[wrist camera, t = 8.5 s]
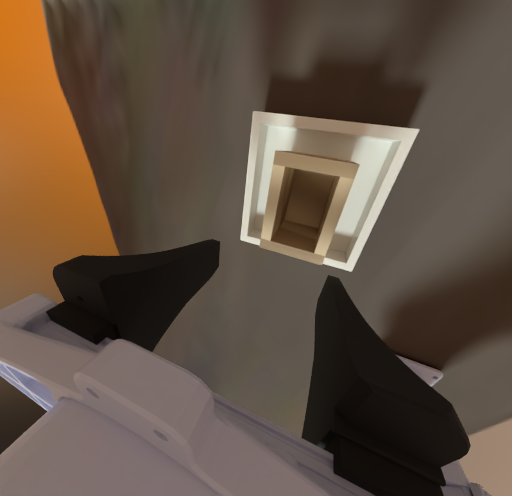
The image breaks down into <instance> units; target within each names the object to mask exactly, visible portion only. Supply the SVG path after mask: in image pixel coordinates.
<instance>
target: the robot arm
mask: <svg viewBox="0 0 512 496" xmlns="http://www.w3.org/2000/svg"><path fill="white" fill-rule="evenodd" d="M219 252H220V242H219V241H216V240H213V239H211V240H206V241H202V242H199V243H195V244H191V245H188V246H184V247H180V248H176V249H172V250H167V251H162V252H156V253H149V254H139V255H127V256H85V255H82V256H78V257H76V258H73V259H71V260H69V261H66V262H64V263H61V264H59V265H57V266H55V267H54V270H53V277H54V280H55V282H56V284H57V286H58V288H59V290H60V292H61V294H62V296H63V298H64V300H65V301H64V302H62V303H60V304H58V305H57V303H55V301H53V300H52V299H50V298H48V297H46V296H43V295H42V294H39V293H35V294H33V295H31V296H29V297H27V298H25V299H22V300H21V301H18V302H16V303H14V304H12V305H10V306H8V307H6V308H4V309H2V310H0V376H1V377H3V378H4V379H6V380H7V381H8V382H10V383H11V384H12V385H14V386H15V387H16V388H18V389H19V390H20V391H22V392H23V393H24V394H26V395H27V396H28V397H30V398H31V399H32V400H33V401H35V402H36V403H37V404H39V405H40V406H41V407H43V408H44V409H45V410H47V411H48V412H47V413H46V414H45V415H43V417H41V418H40V419H39V420H38V421H37V422H36V423H35V424H34V425H33V426H31V427H30V428H29V429H28V430H27V431H26V432H25V433H24V434H23V435H22V436H21V437H19V438H18V439H17V440H16V441H15V442H14V443H13V444H12V445H11V446H10V447H8V448H7V449H6V450H5V451H4V452H3V453H2V454H1V455H0V496H491V495H490V494H489V493H488V492H486V491H485V490H484V489H483V487H482V486H480V485H479V484H477V483H470V482H469V480H468V479H467V477H466V476H465V474H464V471H463V469H462V467H461V464H460V462H459V459H461V458H462V457H463V456H465V455H466V454H467V453H468V451H469V448H470V442H469V438H468V436H467V434H466V432H465V430H464V428H463V426H462V424H461V422H460V420H459V418H458V416H457V414H456V412H455V409H454V408H453V406H452V404H451V403H450V402H449V401H448V400H446V399H445V398H444V397H443V396H442V395H440V394H439V393H438V392H437V391H436V390H434V389H433V388H432V387H431V386H433V385H434V384H435V383H436V382H437V381H439V380H440V379H441V378H442V377H443V374H442V372H441V371H439V370H437V369H434V368H431V367H429V366H426V365H423V364H420V363H418V362H415V361H412V360H409V359H407V358H404V357H401V356H398V355H396V354H394V353H393V351H392V350H391V349H390V348H389V347H388V346H387V345H386V344H385V343H384V342H383V341H382V340H381V339H380V338H379V337H378V335H377V334H376V333H375V332H374V331H373V329H372V328H371V327H370V326H369V325H368V323H367V322H366V321H365V319H364V318H363V317H362V315H361V314H360V312H359V311H358V309H357V308H356V306H355V305H354V303H353V302H352V300H351V299H350V297H349V295H348V294H347V292H346V290H345V288H344V286H343V285H342V283H341V281H340V279H339V278H336V277H333V276H329V275H328V277H327V279H326V282H325V284H324V287H323V289H322V291H321V294H320V296H319V298H318V302H317V308H316V314H315V347H314V361H313V368H312V376H311V383H310V390H309V396H308V403H307V409H306V415H305V421H304V427H303V433H302V438H300V437H299V436H297V435H295V434H293V433H291V432H289V431H287V430H285V429H283V428H281V427H279V426H277V425H275V424H273V423H272V422H270V421H268V420H266V419H264V418H262V417H260V416H258V415H256V414H254V413H252V412H250V411H248V410H246V409H244V408H243V407H241V406H239V405H237V404H235V403H233V402H231V401H229V400H227V399H225V398H223V397H221V396H219V395H217V394H216V393H214V392H212V391H211V390H210V389H209V388H208V387H207V386H206V384H205V383H204V382H203V381H202V380H201V379H200V378H198V377H197V376H195V375H194V374H192V373H191V372H189V371H187V370H186V369H184V368H182V367H180V366H178V365H176V364H174V363H172V362H170V361H168V360H166V359H164V358H162V357H160V356H158V355H156V354H154V353H152V351H153V350H154V348H155V347H156V345H157V343H158V342H159V341H160V339H161V338H162V336H163V335H164V333H165V332H166V330H167V329H168V327H169V326H170V325H171V323H172V322H173V320H174V319H175V318H176V316H177V315H178V314H179V312H180V311H181V310H182V308H183V307H184V306H185V305H186V303H187V302H188V301H189V300H190V299H191V298H192V297H193V296H194V295H195V294H196V293H197V292H198V291H199V290H200V288H201V287H202V286H203V285H204V284H205V283H206V282H207V281H208V280H209V279H210V278H211V277H212V275H213V274H214V273H215V271H216V270H217V268H218V267H219Z"/></svg>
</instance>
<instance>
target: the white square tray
mask: <svg viewBox="0 0 512 496" xmlns="http://www.w3.org/2000/svg"><path fill="white" fill-rule="evenodd" d="M418 132H419V129H411V128H402V127H393V126H384V125H375V124H366V123H357V122H348V121H339V120H330V119H322V118H313V117H304V116H295V115H286V114H277V113H268V112H259V111H253V118H252V128H251V138H250V148H249V158H248V168H247V178H246V188H245V199H244V209H243V219H242V229H241V239H240V240H242V241H246V242H249V243H253V244H256V245H260V239H261V233H262V227H263V221H264V215H265V209H266V203H267V197H268V191H269V185H270V179H271V173H272V167H273V161H274V155H275V151H296V152H302V153H308V154H314V155H320V156H327V157H333V158H339V159H345V160H351V161H353V162H355V163H357V164H360V166H359V168H358V171H357V174H356V176H355V179H354V182H353V184H352V187H351V190H350V192H349V195H348V197H347V200H346V203H345V205H344V208H343V211H342V213H341V216H340V219H339V221H338V224H337V226H336V229H335V232H334V234H333V237H332V240H331V242H330V245H329V248H328V250H327V253H326V255H325V258H324V261H323V264H326V265H330V266H333V267H337V268H340V269H344V270H347V271H351V272H352V270H353V268H354V266H355V264H356V261H357V259H358V257H359V255H360V253H361V251H362V249H363V247H364V245H365V243H366V240H367V238H368V236H369V234H370V232H371V230H372V228H373V226H374V224H375V222H376V220H377V217H378V215H379V213H380V211H381V209H382V207H383V205H384V203H385V201H386V199H387V196H388V194H389V192H390V190H391V188H392V186H393V184H394V182H395V180H396V178H397V176H398V173H399V171H400V169H401V167H402V165H403V163H404V161H405V159H406V157H407V155H408V152H409V150H410V148H411V146H412V144H413V142H414V140H415V138H416V136H417V134H418Z"/></svg>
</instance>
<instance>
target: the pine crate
mask: <svg viewBox="0 0 512 496" xmlns="http://www.w3.org/2000/svg"><path fill="white" fill-rule="evenodd" d="M359 166H360V164H357V163H355V162H353V161H351V160H345V159H339V158H333V157H327V156H320V155H314V154H308V153H302V152H296V151H275V155H274V161H273V167H272V173H271V179H270V185H269V191H268V197H267V203H266V209H265V215H264V221H263V227H262V233H261V239H260V245H259V247H261V248H265V249H268V250H271V251H275V252H278V253H282V254H285V255H289V256H292V257H295V258H299V259H302V260H306V261H309V262H312V263H316V264H319V265H322V263H323V261H324V258H325V255H326V253H327V250H328V248H329V245H330V242H331V240H332V237H333V234H334V232H335V229H336V226H337V224H338V221H339V219H340V216H341V213H342V211H343V208H344V205H345V203H346V200H347V197H348V195H349V192H350V190H351V187H352V184H353V182H354V179H355V176H356V174H357V171H358V168H359Z"/></svg>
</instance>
